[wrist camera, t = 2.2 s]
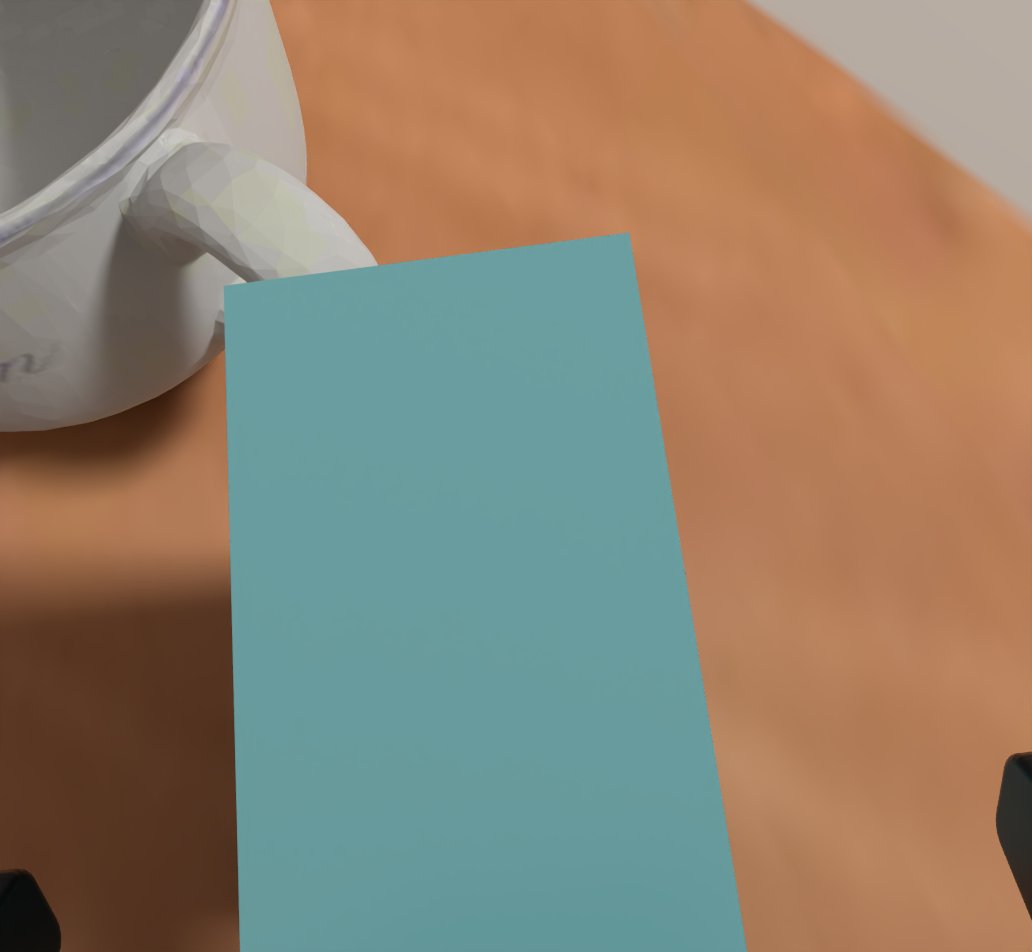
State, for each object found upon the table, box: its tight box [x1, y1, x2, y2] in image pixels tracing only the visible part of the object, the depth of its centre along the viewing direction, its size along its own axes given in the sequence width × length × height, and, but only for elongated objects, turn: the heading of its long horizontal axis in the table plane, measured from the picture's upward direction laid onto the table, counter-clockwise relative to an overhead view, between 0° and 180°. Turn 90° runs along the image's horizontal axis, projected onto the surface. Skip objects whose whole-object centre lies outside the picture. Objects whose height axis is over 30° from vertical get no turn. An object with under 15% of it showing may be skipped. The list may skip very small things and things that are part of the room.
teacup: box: [0, 0, 378, 432], centre depth 17 cm, size 14×11×8 cm
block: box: [224, 233, 747, 952], centre depth 12 cm, size 6×3×12 cm, turn 6°
